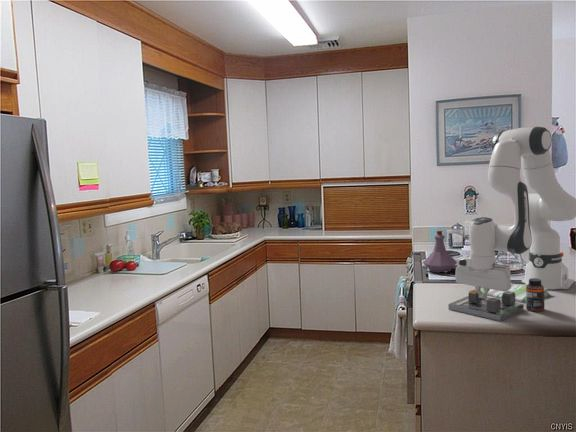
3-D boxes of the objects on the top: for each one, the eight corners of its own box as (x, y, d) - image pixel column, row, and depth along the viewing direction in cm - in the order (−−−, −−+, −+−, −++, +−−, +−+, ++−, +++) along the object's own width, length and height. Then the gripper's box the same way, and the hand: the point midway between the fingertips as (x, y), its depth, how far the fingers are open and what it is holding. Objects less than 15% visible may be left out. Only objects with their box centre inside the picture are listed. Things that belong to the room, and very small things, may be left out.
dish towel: (528, 305, 182) (528, 296, 181) (473, 293, 200) (473, 285, 200) (550, 296, 192) (550, 287, 192) (495, 285, 210) (495, 277, 210)
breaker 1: (492, 308, 172) (492, 297, 172) (500, 309, 170) (500, 298, 170) (486, 310, 170) (486, 299, 169) (494, 312, 168) (494, 301, 167)
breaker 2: (507, 301, 179) (507, 290, 179) (515, 302, 177) (515, 292, 176) (502, 303, 177) (502, 293, 176) (510, 305, 174) (510, 294, 174)
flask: (456, 267, 245) (455, 228, 243) (459, 275, 229) (458, 233, 227) (422, 266, 249) (421, 228, 247) (423, 274, 234) (422, 234, 231)
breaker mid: (474, 299, 184) (474, 289, 183) (481, 300, 181) (481, 290, 181) (468, 301, 181) (468, 291, 181) (476, 303, 179) (475, 292, 178)
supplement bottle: (538, 306, 178) (538, 276, 177) (547, 311, 172) (548, 280, 171) (522, 307, 178) (522, 277, 177) (531, 312, 172) (531, 281, 171)
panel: (472, 299, 191) (472, 293, 191) (523, 309, 176) (523, 303, 176) (448, 309, 181) (448, 303, 180) (500, 321, 165) (500, 315, 165)
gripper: (514, 264, 171) (514, 302, 173) (461, 257, 187) (462, 292, 188) (505, 267, 167) (506, 306, 169) (452, 260, 183) (453, 295, 184)
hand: (482, 298), depth 179 cm, fingers closed
